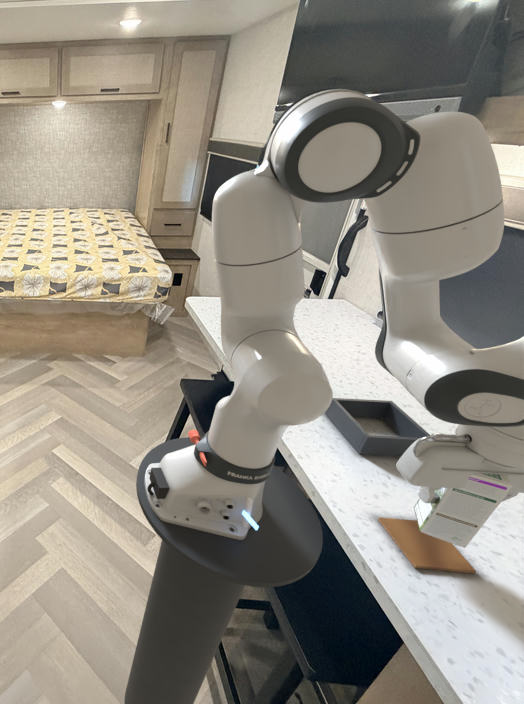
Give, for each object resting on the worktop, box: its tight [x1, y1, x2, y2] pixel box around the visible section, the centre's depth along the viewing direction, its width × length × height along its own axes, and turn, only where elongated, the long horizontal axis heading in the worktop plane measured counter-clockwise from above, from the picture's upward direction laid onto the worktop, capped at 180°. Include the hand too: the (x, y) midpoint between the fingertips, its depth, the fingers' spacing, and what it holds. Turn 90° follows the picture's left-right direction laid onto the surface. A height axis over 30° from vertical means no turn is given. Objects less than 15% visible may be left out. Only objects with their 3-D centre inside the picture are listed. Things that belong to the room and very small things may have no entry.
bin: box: [324, 397, 431, 458], centre depth 91 cm, size 14×14×5 cm
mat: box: [377, 517, 477, 574], centre depth 69 cm, size 9×9×1 cm
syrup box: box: [413, 474, 513, 549], centre depth 63 cm, size 6×6×14 cm
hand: (455, 502), depth 64 cm, fingers closed on syrup box, 7 cm apart
